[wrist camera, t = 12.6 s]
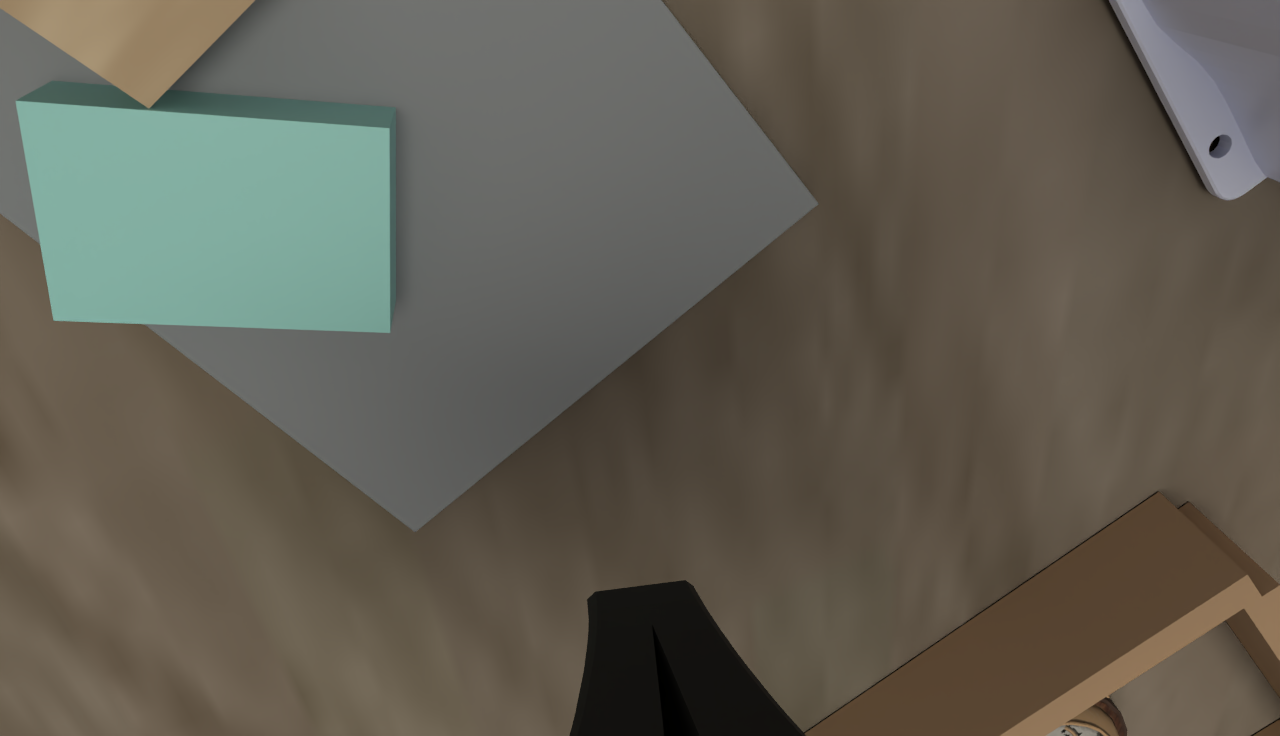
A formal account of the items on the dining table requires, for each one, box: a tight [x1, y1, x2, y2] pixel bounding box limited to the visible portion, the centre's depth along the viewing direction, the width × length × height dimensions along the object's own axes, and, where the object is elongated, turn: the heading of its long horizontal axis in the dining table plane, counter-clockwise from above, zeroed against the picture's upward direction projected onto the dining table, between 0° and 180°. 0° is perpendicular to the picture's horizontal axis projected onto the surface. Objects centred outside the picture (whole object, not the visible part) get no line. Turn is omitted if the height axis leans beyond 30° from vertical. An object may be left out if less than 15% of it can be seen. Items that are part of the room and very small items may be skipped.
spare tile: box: [16, 81, 396, 333], centre depth 18 cm, size 2×4×6 cm
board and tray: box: [0, 0, 1280, 736], centre depth 20 cm, size 56×15×4 cm, turn 40°
